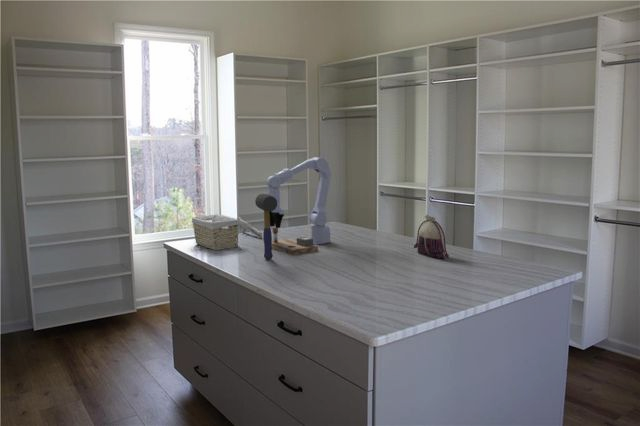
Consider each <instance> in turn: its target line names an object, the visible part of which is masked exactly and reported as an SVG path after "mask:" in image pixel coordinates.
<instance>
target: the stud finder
mask: <svg viewBox="0 0 640 426" xmlns="http://www.w3.org/2000/svg"><path fill="white" fill-rule="evenodd" d="M296 240H297V244H298V245H301V246H310V245H314V244H313V239H311V237H307V236H302V237H296Z"/></svg>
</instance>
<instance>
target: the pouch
mask: <svg viewBox="0 0 640 426" xmlns="http://www.w3.org/2000/svg"><path fill="white" fill-rule="evenodd" d="M424 217H425V219H426V220H424V221H422V223H420V224H419V227H418V230H417V236H416V243H415V244H414V245H413V249H416V250H417V251H416V252H417V253H418V254H421V255H427V256H431V257H434V258H438V259H442V260H445V259H449V258H450V257H449V256H450V255H449V253H448V252H447V246H446V237H445V233H444V230H443V228H442V226H441V225H440V223H439V222H438V221H437V220H436V219H437V217H434V216H430V215H428V214H426V215H425V216H424Z"/></svg>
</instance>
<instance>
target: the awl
mask: <svg viewBox="0 0 640 426" xmlns="http://www.w3.org/2000/svg"><path fill="white" fill-rule="evenodd" d="M271 228H272V229H271V230H272V234H273V241H274V242H278V240H279V239H278V237H279V236H278V233H279V228H276V227H271Z"/></svg>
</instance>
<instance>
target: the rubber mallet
mask: <svg viewBox="0 0 640 426" xmlns="http://www.w3.org/2000/svg"><path fill="white" fill-rule="evenodd" d="M254 202H255V205H256V207H257V208H259V209H260V210H263V222H264V224H263V227H264V228H263V233H262V238H263V239H262V240H263V244H264V245H263V246H264V247H263V248H264V253H263V257H264V259H265V261H271V260H272V259H273V257H274V255H273V250H272V246H271V243H272V241H273V236H272V234H273V233H272V229H271V226H270V215H269V211H273V210H275V209H276V207H277V200H276V198H274V197H273V196H271V195H269V194H268V193H261V194H258V195H257V196H256V198H255V200H254Z"/></svg>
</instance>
